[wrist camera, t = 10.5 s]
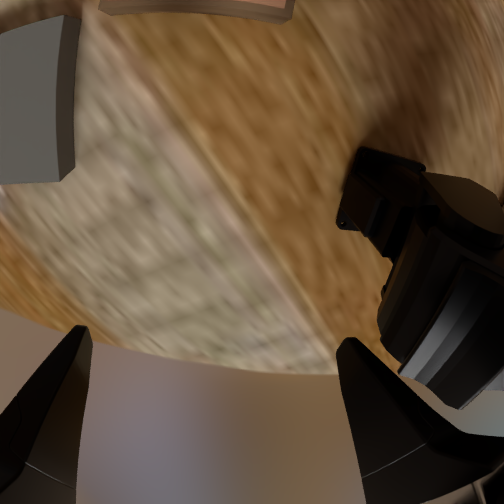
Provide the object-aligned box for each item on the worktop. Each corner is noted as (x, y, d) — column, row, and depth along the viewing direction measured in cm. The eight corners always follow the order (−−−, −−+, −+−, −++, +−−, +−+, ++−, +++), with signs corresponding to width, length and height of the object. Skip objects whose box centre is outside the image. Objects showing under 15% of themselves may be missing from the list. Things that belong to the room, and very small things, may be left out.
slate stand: (81, 19, 10) (64, 14, 8) (75, 167, 16) (59, 181, 14) (-28, 52, 8) (-48, 56, 6) (-23, 174, 14) (-41, 188, 12)
